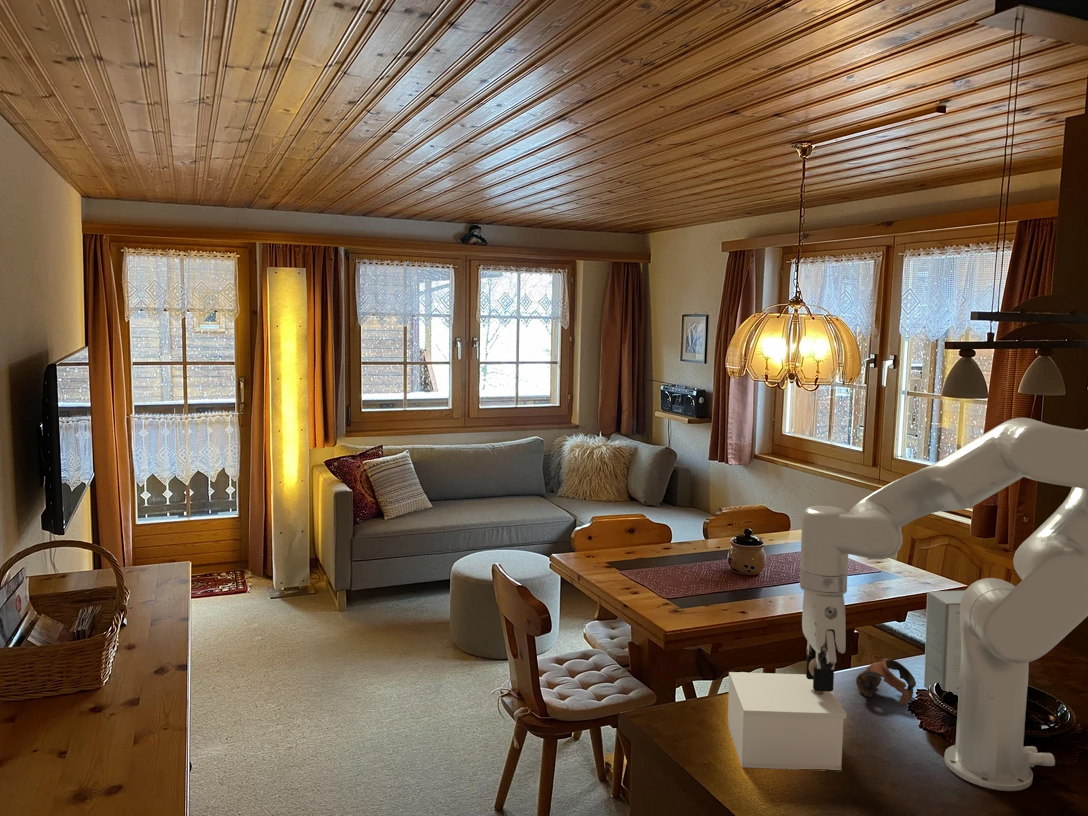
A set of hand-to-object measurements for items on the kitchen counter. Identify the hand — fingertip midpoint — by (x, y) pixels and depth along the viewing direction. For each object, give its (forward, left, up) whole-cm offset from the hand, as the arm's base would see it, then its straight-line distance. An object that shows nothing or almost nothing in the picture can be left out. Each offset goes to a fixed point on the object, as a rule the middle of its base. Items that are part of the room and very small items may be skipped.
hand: (819, 683), depth 134 cm
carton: (+6, 0, -12) cm, 13 cm away
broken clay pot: (-18, -20, -12) cm, 30 cm away
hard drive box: (-36, -23, -12) cm, 44 cm away
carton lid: (+6, 0, -2) cm, 6 cm away
